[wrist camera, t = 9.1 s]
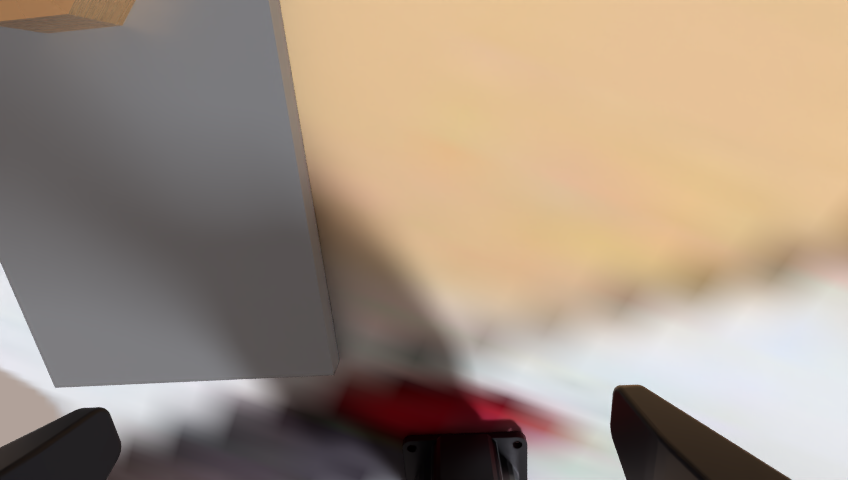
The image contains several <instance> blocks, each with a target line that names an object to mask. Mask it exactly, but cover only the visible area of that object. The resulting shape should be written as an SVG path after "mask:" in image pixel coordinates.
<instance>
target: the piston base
mask: <svg viewBox="0 0 848 480" xmlns="http://www.w3.org/2000/svg"><path fill="white" fill-rule="evenodd" d="M0 262H1V264H2V267H3V269H4V271H5V274H6V276H7V278H8V281H9V283H10V285H11V287H12V290H13V292H14V294H15V297H16V299H17V301H18V303H19V306H20V308H21V310H22V313H23V315H24V317H25V320H26V322H27V324H28V326H29V329H30V331H31V333H32V336H33V338H34V340H35V343H36V345H37V347H38V349H39V352H40V354H41V356H42V359H43V361H44V363H45V365H46V368H47V370H48V372H49V375H50V377H51V379H52V382H53V384H54V386H55V388H59V387H81V386H103V385H125V384H147V383H169V382H190V381H212V380H234V379H256V378H278V377H300V376H322V375H334V373H335V371H336V368H337V365H338V362H339V354H338V348H337V342H336V336H335V330H334V324H333V318H332V312H331V307H330V301H329V295H328V289H327V283H326V277H325V271H324V265H323V259H322V253H321V247H320V241H319V235H318V229H317V223H316V217H315V211H314V205H313V199H312V193H311V187H310V181H309V175H308V169H307V163H306V157H305V151H304V145H303V139H302V133H301V127H300V121H299V115H298V109H297V103H296V97H295V91H294V85H293V79H292V73H291V67H290V61H289V55H288V49H287V43H286V37H285V31H284V25H283V19H282V13H281V7H280V1H279V0H136V1H135V3H134V5H133V7H132V8H131V10H130V12H129V14H128V16H127V18H126V20H125V22H124V24H123V26H114V27H104V28H95V29H85V30H76V31H66V32H57V33H41V32H34V31H28V30H21V29H14V28H8V27H1V26H0Z"/></svg>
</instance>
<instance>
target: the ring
mask: <svg viewBox="0 0 848 480" xmlns="http://www.w3.org/2000/svg"><path fill="white" fill-rule="evenodd" d="M135 1H136V0H0V26H1V27H8V28H14V29H21V30H28V31H34V32H41V33H57V32H66V31H76V30H85V29H95V28H104V27H114V26H123V24H124V22H125V20H126V18H127V16H128V14H129V12H130V10H131V8H132V7H133V5H134V3H135Z"/></svg>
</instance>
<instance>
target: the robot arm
mask: <svg viewBox="0 0 848 480" xmlns="http://www.w3.org/2000/svg"><path fill="white" fill-rule="evenodd" d="M610 427H611V435H612V439H613V442H614V445H615V448H616V451H617V453H618V456H619V459H620V462H621V465H622V468H623V471H624V474H625V477H626V480H791V479H790V478H788V477H787V476H785V475H783V474H782V473H780V472H779V471H777V470H776V469H774V468H772V467H771V466H769V465H768V464H766V463H764V462H763V461H761V460H760V459H758V458H756V457H755V456H753V455H752V454H750V453H748V452H747V451H745V450H744V449H742V448H741V447H739V446H737V445H736V444H734V443H733V442H731V441H729V440H728V439H726V438H725V437H723V436H721V435H720V434H718V433H717V432H715V431H713V430H712V429H710V428H709V427H707V426H706V425H704V424H702V423H701V422H699V421H698V420H696V419H694V418H693V417H691V416H690V415H688V414H686V413H685V412H683V411H682V410H680V409H679V408H677V407H675V406H674V405H672V404H671V403H669V402H667V401H666V400H664V399H663V398H661V397H659V396H658V395H656V394H655V393H653V392H651V391H650V390H648V389H647V388H645V387H643V386H641V385H619V386H617V387H616V388H615V389H614V391H613V399H612V411H611V422H610ZM515 441H520V442H518V443H514V442H515ZM409 445H414V446H409ZM120 452H121V441H120V438H119V436H118V433H117V431H116V428H115V426H114V423H113V421H112V418H111V415H110V413H109V412H108V411H107V410H106V409H105V408H101V407H96V408H81V409H78V410H75V411H73V412H71V413H69V414H67V415H65V416H63V417H61V418H59V419H57V420H55V421H53V422H51V423H49V424H47V425H45V426H43V427H41V428H39V429H37V430H35V431H33V432H31V433H29V434H27V435H25V436H23V437H21V438H19V439H17V440H15V441H12V442H10V443H9V444H7V445H4V446H2V447H1V448H0V480H107V478H108V476H109V474H110V472H111V470H112V469H113V467H114V465H115V463H116V461H117V460H118V457H119V455H120ZM403 457H404V465H405V474H406V480H527V442H526V438H525V435H524V434H523V433H521V432H516V431H515V432H488V433H461V434H434V435H411V436H407V437H406V438H405V439H404V440H403Z"/></svg>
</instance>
